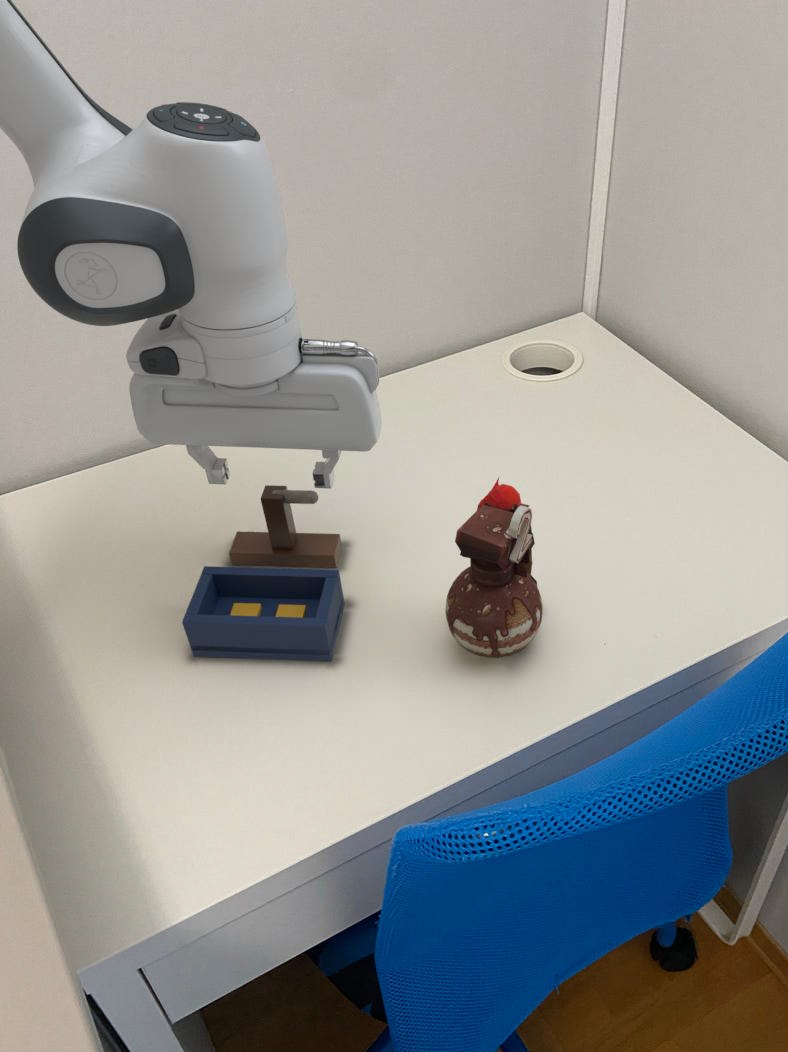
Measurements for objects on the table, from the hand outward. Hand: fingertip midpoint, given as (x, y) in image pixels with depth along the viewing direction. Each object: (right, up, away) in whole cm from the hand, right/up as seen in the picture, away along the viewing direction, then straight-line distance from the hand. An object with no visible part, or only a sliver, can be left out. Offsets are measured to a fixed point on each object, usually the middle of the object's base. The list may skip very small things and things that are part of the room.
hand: (272, 482), depth 83 cm
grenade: (+20, -14, -2) cm, 24 cm away
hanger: (0, -6, +6) cm, 9 cm away
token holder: (0, -13, -1) cm, 13 cm away
